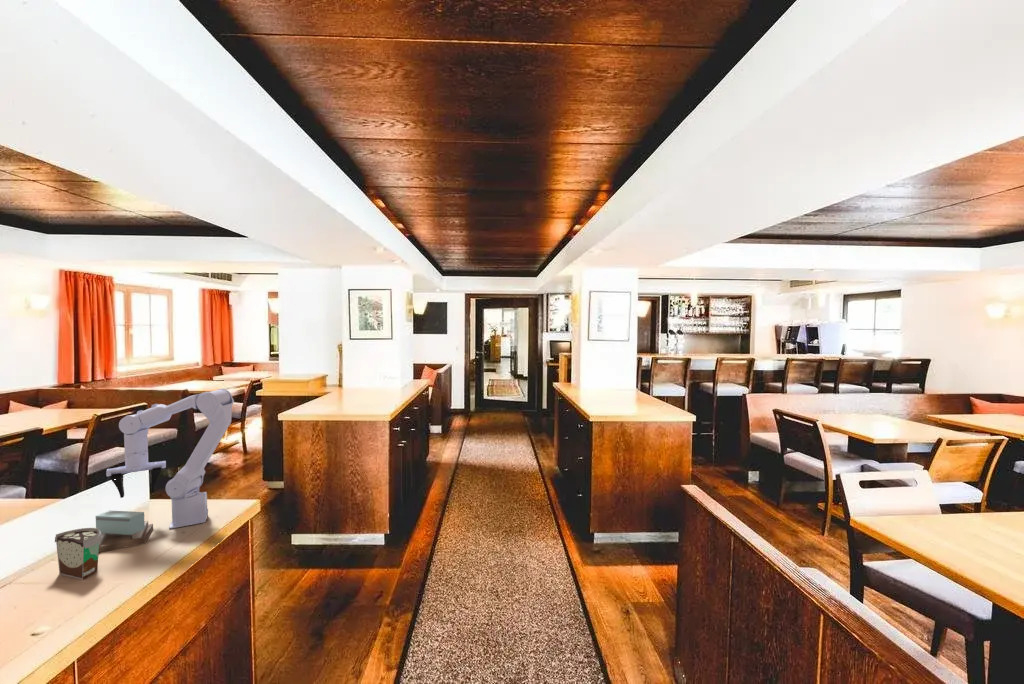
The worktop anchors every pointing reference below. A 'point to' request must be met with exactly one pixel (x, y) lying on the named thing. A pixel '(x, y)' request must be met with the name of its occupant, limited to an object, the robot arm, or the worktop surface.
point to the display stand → (124, 539)
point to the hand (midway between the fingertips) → (138, 494)
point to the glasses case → (120, 522)
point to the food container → (78, 552)
